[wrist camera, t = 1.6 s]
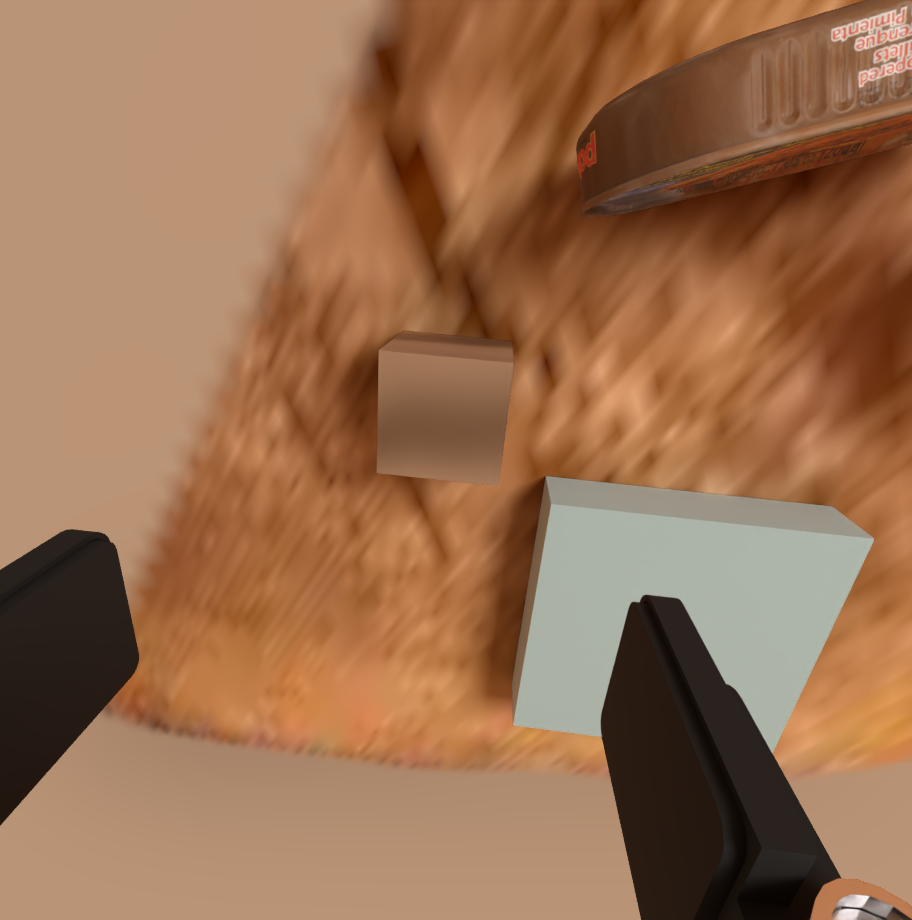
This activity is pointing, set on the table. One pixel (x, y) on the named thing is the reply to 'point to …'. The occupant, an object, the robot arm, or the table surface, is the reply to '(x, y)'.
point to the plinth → (678, 593)
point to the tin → (755, 111)
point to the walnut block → (443, 406)
